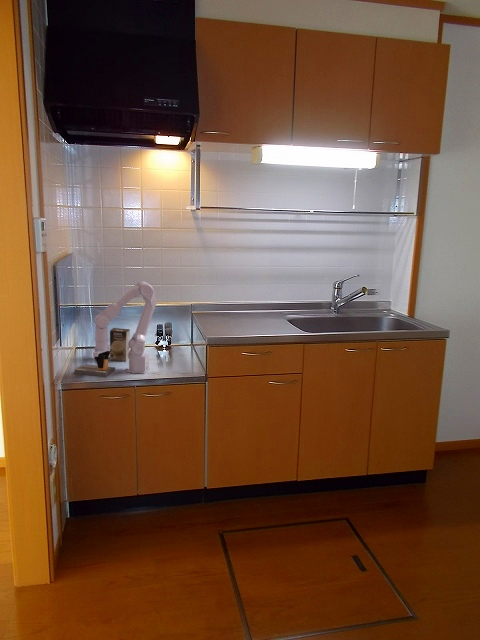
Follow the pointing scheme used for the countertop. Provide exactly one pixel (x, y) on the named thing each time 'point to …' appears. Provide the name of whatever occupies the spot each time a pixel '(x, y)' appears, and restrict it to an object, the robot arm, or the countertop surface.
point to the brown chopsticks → (96, 365)
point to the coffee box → (119, 344)
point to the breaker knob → (104, 365)
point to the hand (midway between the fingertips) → (102, 367)
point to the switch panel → (93, 370)
